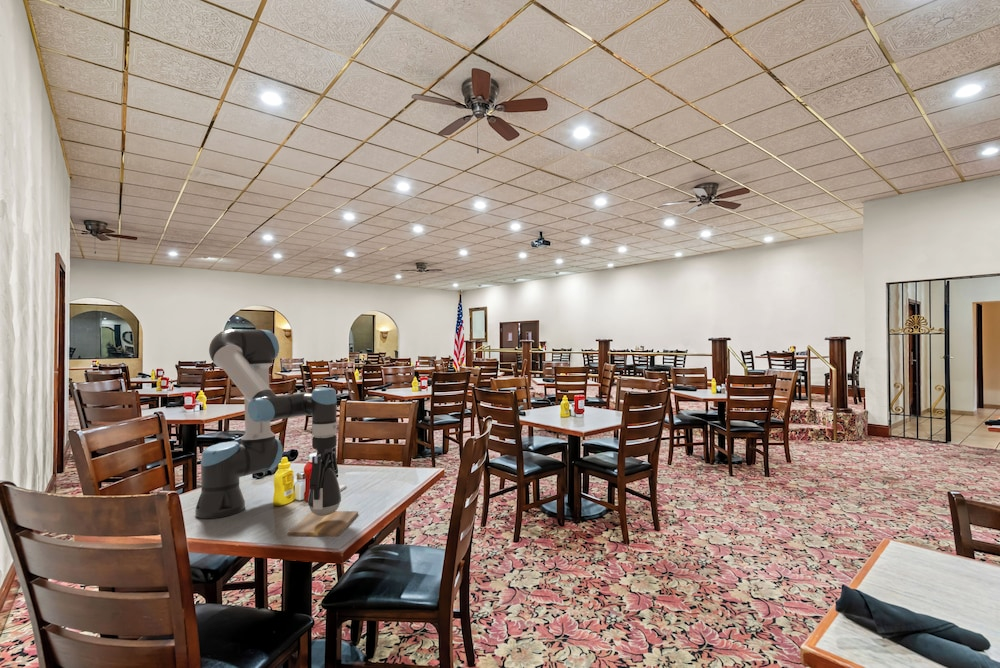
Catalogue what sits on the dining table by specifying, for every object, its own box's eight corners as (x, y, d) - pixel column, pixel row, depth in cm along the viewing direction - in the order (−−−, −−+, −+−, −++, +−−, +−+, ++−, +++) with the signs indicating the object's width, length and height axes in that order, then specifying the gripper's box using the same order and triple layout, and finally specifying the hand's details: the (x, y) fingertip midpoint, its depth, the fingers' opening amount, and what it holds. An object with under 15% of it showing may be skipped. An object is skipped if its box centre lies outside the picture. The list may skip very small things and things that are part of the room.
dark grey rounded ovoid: (302, 519, 150) (302, 471, 150) (314, 507, 161) (314, 462, 161) (335, 518, 150) (335, 470, 151) (345, 507, 161) (344, 462, 161)
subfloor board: (287, 535, 147) (287, 532, 147) (312, 513, 165) (312, 510, 165) (338, 536, 146) (338, 532, 146) (357, 514, 164) (357, 511, 164)
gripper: (321, 443, 144) (321, 516, 144) (348, 428, 167) (348, 491, 167) (297, 443, 145) (297, 516, 144) (327, 428, 167) (327, 491, 167)
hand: (324, 503), depth 156 cm, fingers closed on dark grey rounded ovoid, 10 cm apart
